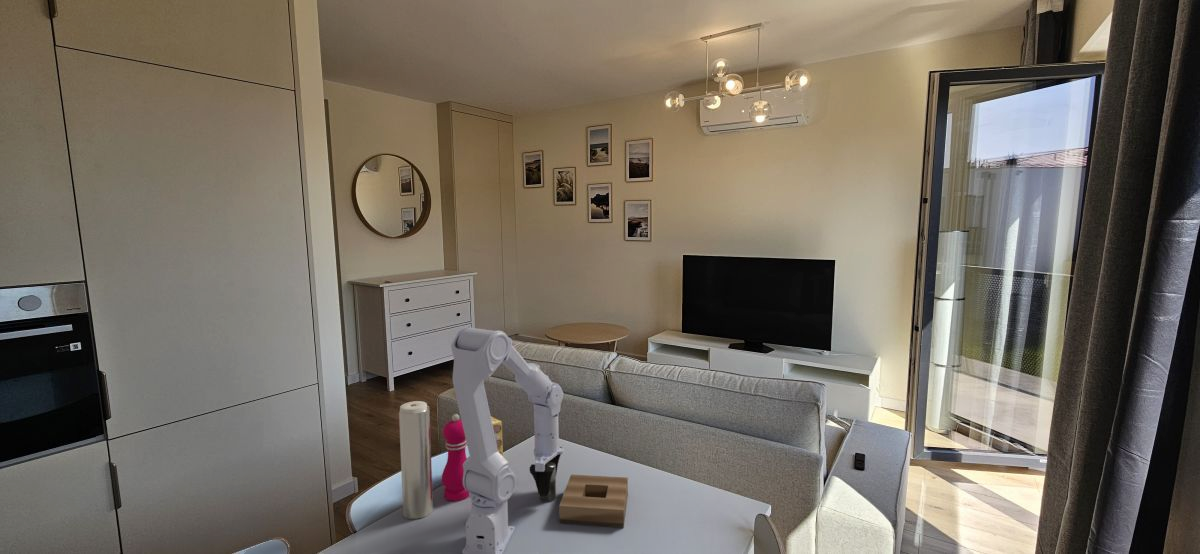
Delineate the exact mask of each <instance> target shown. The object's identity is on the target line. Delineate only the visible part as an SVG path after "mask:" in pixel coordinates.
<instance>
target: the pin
mask: <svg viewBox="0 0 1200 554" xmlns="http://www.w3.org/2000/svg"><path fill="white" fill-rule="evenodd" d="M547 465H548V467H555V463H553V462H547ZM556 479H557V473H556V467H555V469H554V471H553V473H552V476H551V481H550V489H549V493H548V496H541V495H539V494H538V500H539V501H540V502H542V503H551V502H554V501H555V500H556V499H557V487H556V486H557V485H556V484H557V480H556Z"/></svg>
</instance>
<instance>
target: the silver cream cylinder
mask: <svg viewBox="0 0 1200 554" xmlns="http://www.w3.org/2000/svg"><path fill="white" fill-rule="evenodd" d="M430 413H431V411H430V405H428V404H427V402H425V401H421V400H420V401H419V400H414V401H409V402H406V403H403V404H401V405H400V406H399V412H398V418H399V443H400V445H399V446H400V467H401V469H400V470H401V471H400V472H401V492H402V493H401V494H402V495H401V496H402V516H403V517H404V518H405V519H407V520H418V519H419V518H420V519H423V518H426V517H427V516H429V515H430V514H431V513H432V512H433V511H434V500H433V498H434V497H433V475H432V473H433V472H432V445H431V444H432V443H431V417H430V416H431V415H430ZM420 519H419V520H420Z"/></svg>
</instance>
